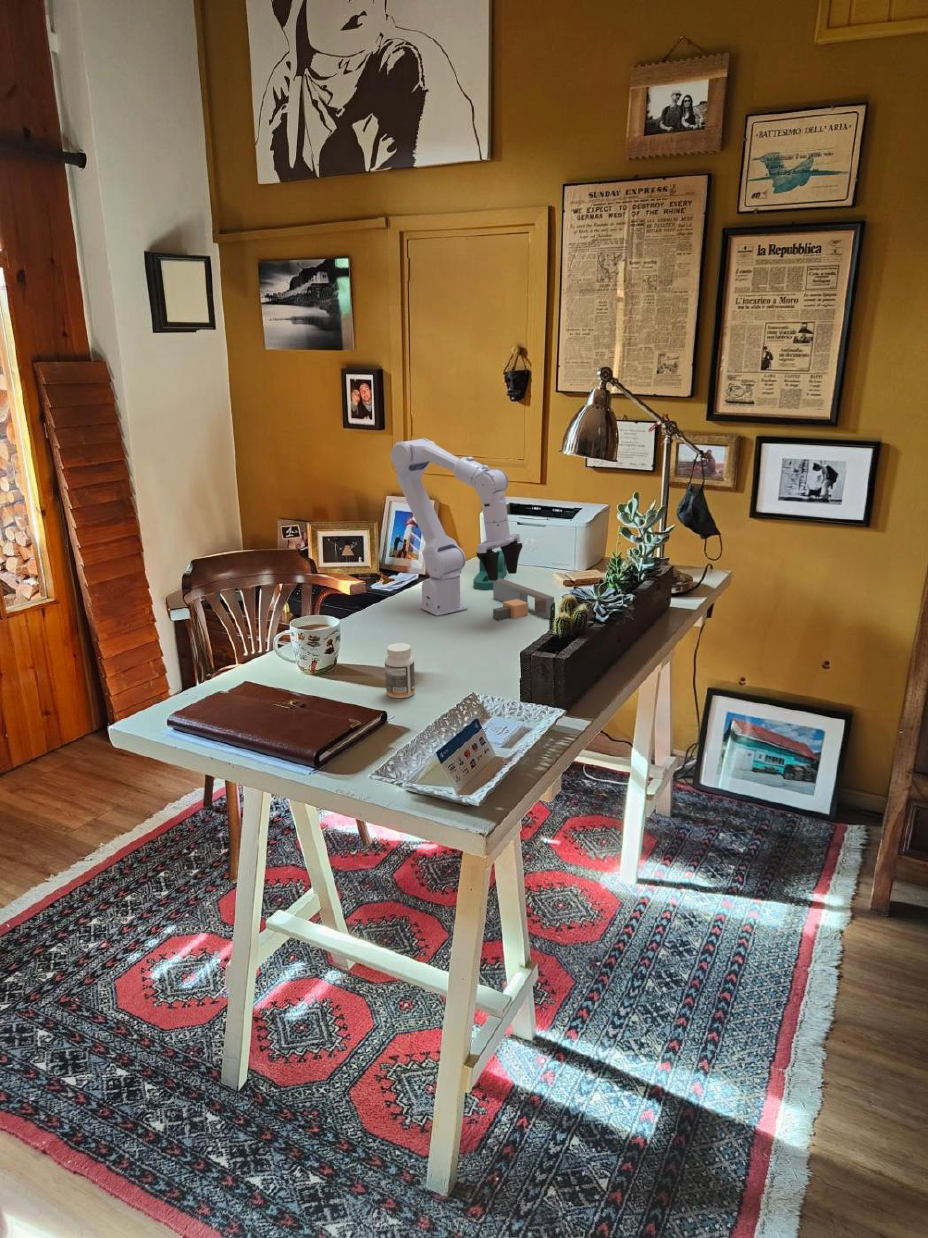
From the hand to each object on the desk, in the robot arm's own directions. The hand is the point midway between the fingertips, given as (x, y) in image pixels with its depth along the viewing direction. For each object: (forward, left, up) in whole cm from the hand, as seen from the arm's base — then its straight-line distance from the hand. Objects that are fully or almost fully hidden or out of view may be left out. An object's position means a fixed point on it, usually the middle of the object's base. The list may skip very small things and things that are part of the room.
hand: (503, 576), depth 215 cm
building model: (+11, +6, -12) cm, 17 cm away
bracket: (+19, +31, -12) cm, 39 cm away
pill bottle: (-43, -24, -12) cm, 51 cm away
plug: (+4, +3, -12) cm, 13 cm away
